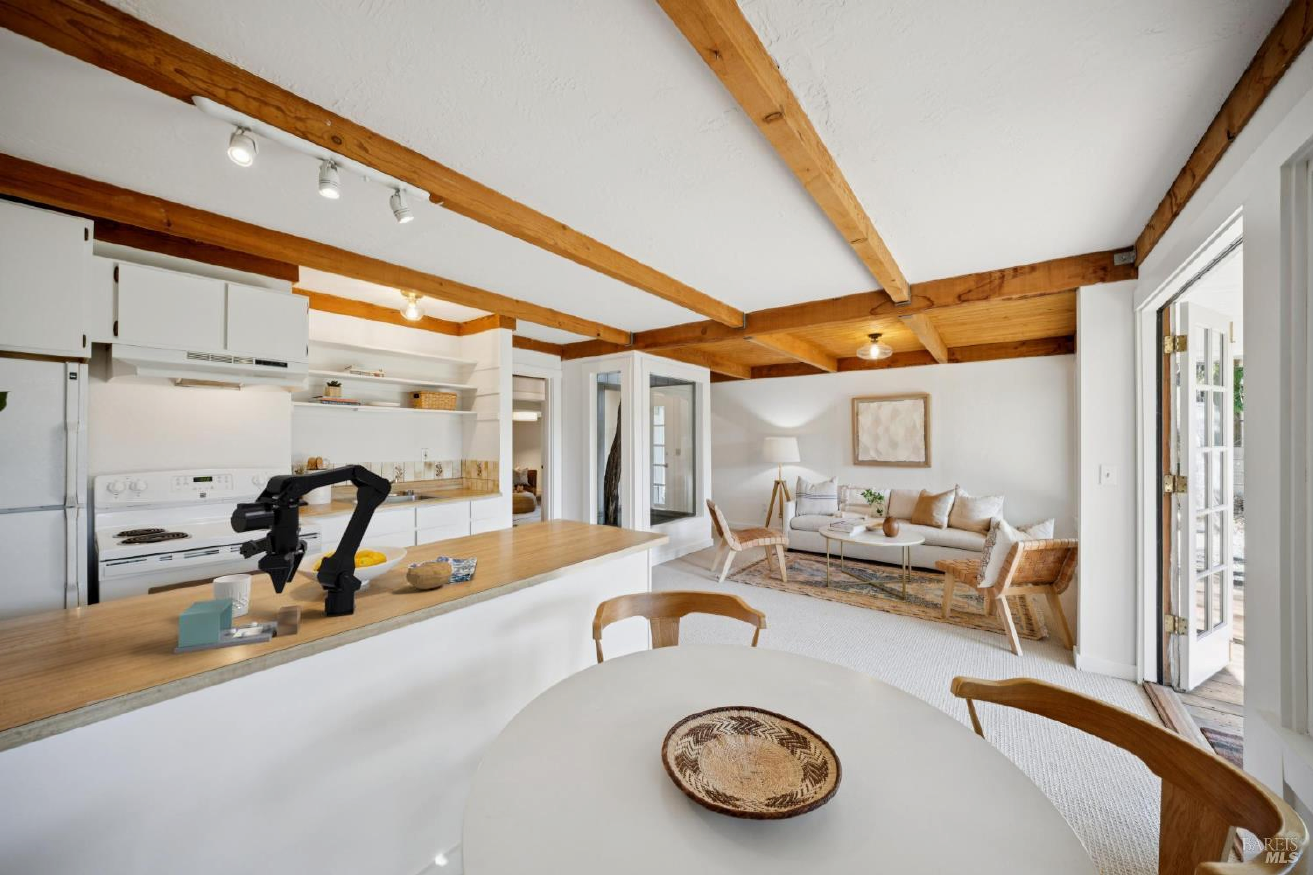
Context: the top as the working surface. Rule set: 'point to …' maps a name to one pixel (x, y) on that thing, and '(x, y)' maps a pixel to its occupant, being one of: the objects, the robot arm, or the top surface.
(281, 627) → the block
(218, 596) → the white cup
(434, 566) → the potato
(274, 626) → the base plate
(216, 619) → the housing cover
